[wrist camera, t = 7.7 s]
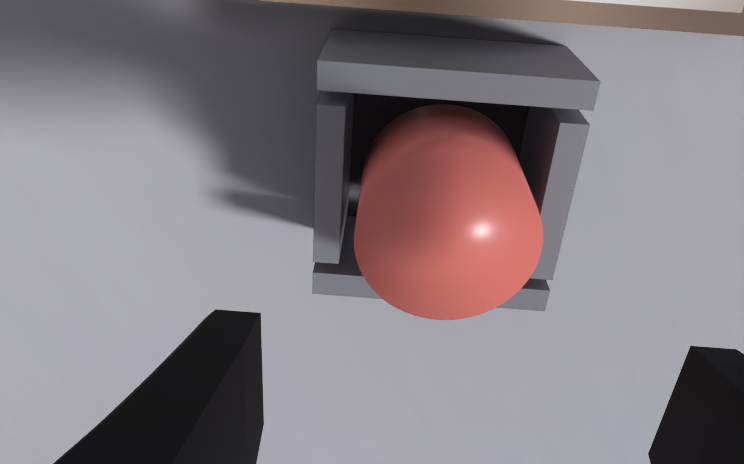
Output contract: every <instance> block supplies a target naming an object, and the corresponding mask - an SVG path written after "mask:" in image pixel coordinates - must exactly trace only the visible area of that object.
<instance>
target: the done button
mask: <svg viewBox="0 0 744 464" xmlns="http://www.w3.org/2000/svg"><path fill="white" fill-rule="evenodd" d="M542 244H543V227H542V221H541V217H540V214H539V211H538V208H537V205H536V203H535V200H534V198H533V195H532V193H531V191H530V188H529V186H528V183H527V181H526V178H525V176H524V173H523V171H522V168H521V166H520V163H519V161H518V158H517V156H516V153H515V151H514V149H513V146H512V144H511V142H510V140H509V139H508V137H507V136H506V134H505V133H504V132H503V130H502V129H501V128H500V127H499V126H498V125H497V124H496V123H494V122H493V121H492V120H491V119H489V118H488V117H486V116H485V115H483V114H481V113H480V112H477V111H475V110H472V109H470V108H466V107H463V106H459V105H451V104H435V105H427V106H423V107H419V108H416V109H413V110H410V111H408V112H406V113H404V114H402V115H400V116H398V117H397V118H395V119H394V120H393V121H391V122H390V123H389V124H388V125H386V126H385V127H384V128H383V129H382V130H381V131H380V133H379V134H378V135H377V136H376V138H375V139H374V141H373V142H372V144H371V146H370V148H369V150H368V152H367V155H366V158H365V162H364V166H363V173H362V181H361V188H360V196H359V203H358V210H357V218H356V225H355V232H354V250H355V256H356V260H357V263H358V266H359V269H360V271H361V273H362V275H363V277H364V278H365V280H366V281H367V283H368V284H369V286H370V287H371V288H372V289H373V290H374V291H375V292H376V293H377V294H378V295H379V296H380V297H381V298H382V299H384V300H385V301H386V302H388V303H389V304H391V305H392V306H394V307H396V308H398V309H400V310H402V311H404V312H407V313H409V314H412V315H415V316H419V317H423V318H429V319H436V320H453V319H462V318H468V317H472V316H476V315H479V314H482V313H485V312H487V311H489V310H492V309H494V308H496V307H497V306H499V305H501V304H503V303H504V302H506V301H507V300H508V299H510V298H511V297H513V296H514V295H515V294H516V293H517V292H518V291H519V290H520V289H521V288H522V287H523V286H524V284H525V283H526V282H527V281H528V280H529V278H530V276H531V275H532V273H533V272H534V270H535V268H536V265H537V263H538V261H539V258H540V254H541V251H542Z"/></svg>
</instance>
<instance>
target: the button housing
mask: <svg viewBox="0 0 744 464" xmlns="http://www.w3.org/2000/svg"><path fill="white" fill-rule="evenodd" d="M599 85H600V81H599V80H598V79H597V78H596V76H595V75H594V74H593V73H592V72H591V71H590V70H589V69H588V68H587V67H586V66H585V65H584V64H583V63H582V62H581V61H580V60H579V59H578V58H577V57H576V56H575V55H574V53H573V52H572V51H571V50H570V49H569V48H568V47H567V46H560V45H546V44H532V43H519V42H505V41H492V40H478V39H465V38H451V37H437V36H424V35H410V34H397V33H383V32H370V31H356V30H342V29H332V30H331V32H330V34H329V36H328V38H327V40H326V43H325V45H324V47H323V49H322V51H321V53H320V56H319V58H318V60H317V90H320V91H321V93H320V96H319V99H318V101H317V104H316V142H315V190H314V239H313V262H315V265H314V270H313V288H312V294H325V295H338V296H351V297H364V298H377V299H382V298H381V297H380V296H379V295H378V294H377V293H376V292H375V291H374V290H373V289H372V288H371V287H370V286H369V284H368V283H367V281H366V280H365V278H364V277H363V275H362V273H361V271H360V269H359V266H358V263H357V260H356V256H355V250H354V232H355V225H356V218H357V216H348V215H347V210H348V201H349V181H350V161H351V141H352V121H353V101H354V93H360V94H374V95H387V96H401V97H414V98H428V99H441V100H455V101H468V102H481V103H495V104H508V105H522V106H529V111H528V116H527V121H526V127H525V132H524V137H523V142H522V148H521V153H520V158H519V163H520V166H521V168H522V171H523V173H524V176H525V178H526V181H527V183H528V186H529V188H530V191H531V193H532V195H533V198H534V200H535V203H536V205H537V208H538V211H539V214H540V217H541V221H542V227H543V244H542V251H541V254H540V258H539V261H538V263H537V265H536V268H535V270H534V272H533V273H532V275H531V276H530V278H529V280H528V281H527V282H526V283H525V284H524V286H523V287H522V288H521V289H520V290H519V291H518V292H517V293H516V294H515V295H514V296H513V297H511V298H510V299H508V300H507V301H506V302H504V303H503V304H501V305H499V306H497V307H496V308H508V309H521V310H534V311H545V308H546V304H547V300H548V296H549V292H550V290H549V287H548V284H547V281H546V280H552V279H553V275H554V271H555V267H556V263H557V259H558V255H559V250H560V246H561V242H562V238H563V234H564V230H565V226H566V221H567V217H568V213H569V209H570V205H571V201H572V197H573V192H574V188H575V184H576V180H577V176H578V172H579V168H580V163H581V159H582V155H583V151H584V147H585V143H586V139H587V135H588V130H589V126H590V125H589V123H588V122H587V121H586V119H585V118H584V117H583V115H582V114H581V113H580V111H579V110H589V111H593V110H594V106H595V101H596V97H597V93H598V89H599Z"/></svg>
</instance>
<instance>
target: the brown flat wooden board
mask: <svg viewBox="0 0 744 464" xmlns="http://www.w3.org/2000/svg"><path fill="white" fill-rule="evenodd" d="M259 1H273V2H287V3H300V4H314V5H327V6H341V7H355V8H368V9H382V10H396V11H409V12H423V13H436V14H450V15H464V16H477V17H491V18H505V19H518V20H532V21H545V22H559V23H573V24H586V25H600V26H613V27H627V28H641V29H654V30H668V31H682V32H695V33H709V34H722V35H736V36H744V0H259Z"/></svg>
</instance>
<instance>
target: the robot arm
mask: <svg viewBox="0 0 744 464" xmlns="http://www.w3.org/2000/svg"><path fill="white" fill-rule="evenodd" d="M263 425H264V419H263V384H262V349H261V313H253V312H240V311H227V310H215V311H213V312H212V313H211V314H209V315H208V316H207V317H206V318H205V319H204V320H203V321H202V322H201V323H200V324H199V325H198V326H197V327H196V329H195V330H194V331H193V332H192V333H191V334H190V335H189V336H188V337H187V338H186V339H185V340H184V341H183V342H182V343H181V344H180V345H179V346H178V347H177V348H176V349H175V350H174V351H173V352H172V353H171V354H170V355H169V356H168V358H167V359H166V360H165V361H164V362H163V363H162V364H161V365H160V366H159V367H158V368H157V369H156V370H155V371H154V372H153V373H152V374H151V375H150V376H149V377H148V378H147V379H146V380H144V381H143V382H142V383H141V384H140V385H139V386H138V387H137V388H136V389H135V390H134V391H133V392H132V393H131V394H130V395H129V396H128V397H127V398H126V399H125V400H124V401H122V402H121V403H120V404H119V405H118V406H117V407H116V408H115V409H114V410H113V411H112V412H111V413H110V414H109V415H108V416H107V417H106V418H105V419H104V420H102V421H101V422H100V423H99V424H98V425H97V426H96V427H95V428H94V429H93V430H91V431H90V432H89V433H88V434H87V435H86V436H84V437H83V438H82V439H81V440H80V441H79V442H78V443H76V444H75V445H74V446H73V447H72V448H71V449H70V450H68V451H67V452H66V453H65V454H64V455H63V456H62V457H60V458H59V459H58V460H57V461H56V462H55V463H53V464H256V461H257V456H258V451H259V446H260V440H261V435H262V430H263ZM648 454H649V458H650V462H651V464H744V354H743V353H741V352H740V351H738V350H736V349H723V348H710V347H697V346H690V349H689V352H688V354H687V357H686V359H685V362H684V364H683V367H682V369H681V372H680V374H679V377H678V380H677V382H676V385H675V387H674V390H673V392H672V395H671V397H670V400H669V402H668V405H667V408H666V410H665V413H664V415H663V418H662V420H661V423H660V425H659V428H658V430H657V433H656V436H655V438H654V441H653V443H652V446H651V448H650V451H649V453H648Z"/></svg>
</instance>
